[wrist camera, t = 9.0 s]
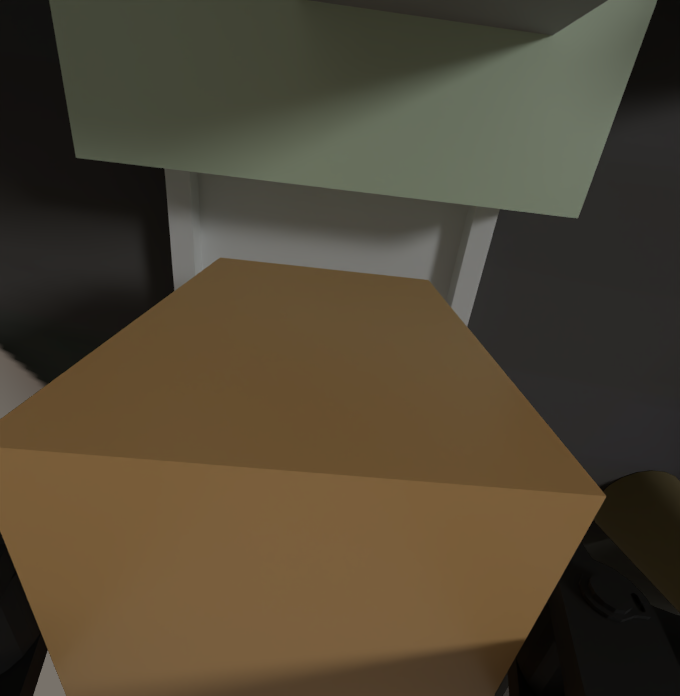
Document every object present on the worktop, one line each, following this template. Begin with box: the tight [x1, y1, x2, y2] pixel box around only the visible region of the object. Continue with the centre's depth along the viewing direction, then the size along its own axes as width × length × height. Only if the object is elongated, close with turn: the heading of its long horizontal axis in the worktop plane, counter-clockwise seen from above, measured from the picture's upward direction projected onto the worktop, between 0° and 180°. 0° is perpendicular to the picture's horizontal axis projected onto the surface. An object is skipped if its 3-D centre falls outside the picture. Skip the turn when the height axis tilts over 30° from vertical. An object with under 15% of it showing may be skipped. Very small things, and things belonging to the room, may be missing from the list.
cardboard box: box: [0, 257, 606, 696], centre depth 9 cm, size 6×7×8 cm
